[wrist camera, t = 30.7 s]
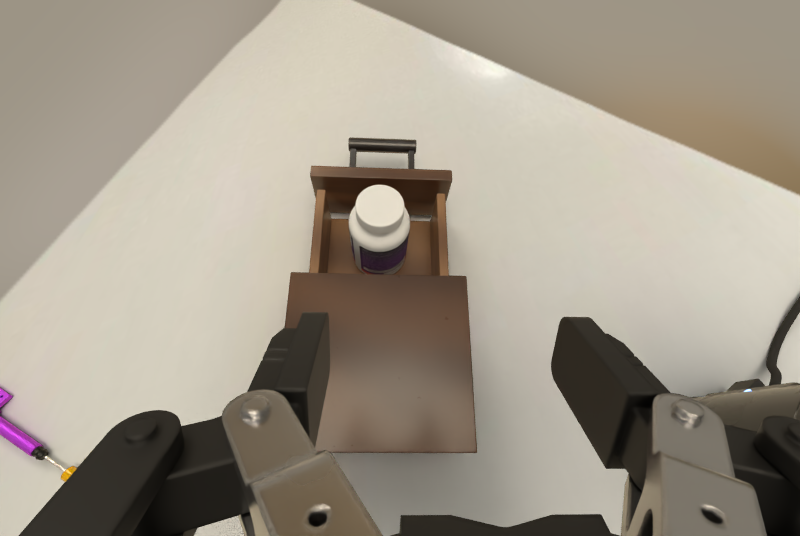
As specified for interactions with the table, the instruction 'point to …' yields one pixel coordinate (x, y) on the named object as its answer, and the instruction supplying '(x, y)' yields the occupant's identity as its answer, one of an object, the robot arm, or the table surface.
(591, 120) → the table surface
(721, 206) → the table surface
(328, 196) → the drawer
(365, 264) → the pill bottle
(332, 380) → the cabinet
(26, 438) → the purple and yellow rod
